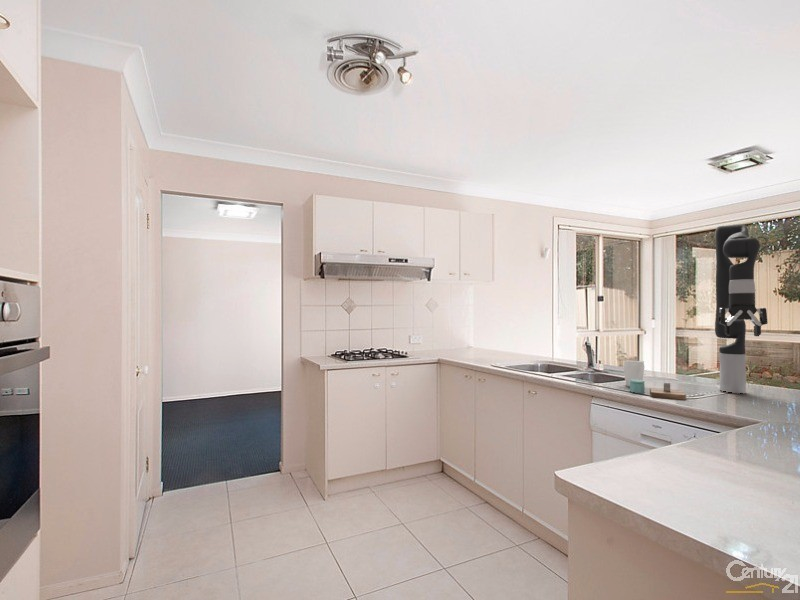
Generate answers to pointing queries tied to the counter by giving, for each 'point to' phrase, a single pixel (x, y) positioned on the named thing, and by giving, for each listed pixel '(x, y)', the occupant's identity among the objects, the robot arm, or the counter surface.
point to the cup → (633, 370)
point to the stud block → (667, 393)
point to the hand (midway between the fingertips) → (742, 336)
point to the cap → (637, 386)
